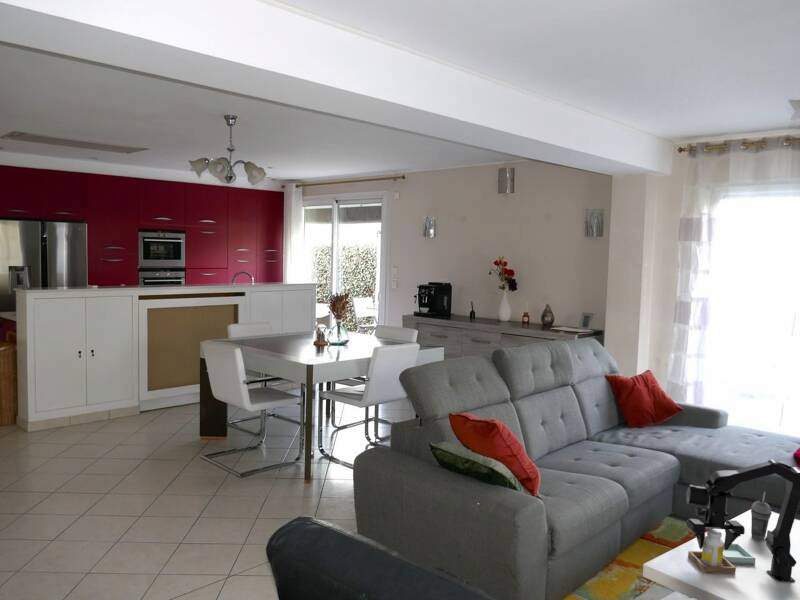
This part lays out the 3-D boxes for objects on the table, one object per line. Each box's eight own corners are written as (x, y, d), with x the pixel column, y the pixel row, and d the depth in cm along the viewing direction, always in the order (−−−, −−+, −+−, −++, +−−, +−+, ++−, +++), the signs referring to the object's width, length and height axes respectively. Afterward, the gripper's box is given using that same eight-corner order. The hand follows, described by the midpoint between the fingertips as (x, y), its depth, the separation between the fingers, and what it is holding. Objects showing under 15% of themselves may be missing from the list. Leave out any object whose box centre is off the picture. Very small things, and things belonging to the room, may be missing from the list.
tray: (754, 564, 234) (755, 558, 234) (724, 563, 234) (725, 556, 233) (737, 549, 245) (738, 543, 245) (708, 548, 245) (709, 542, 245)
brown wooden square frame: (735, 574, 226) (735, 568, 225) (703, 573, 225) (704, 566, 225) (718, 558, 237) (718, 552, 237) (687, 557, 237) (688, 551, 236)
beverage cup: (763, 535, 259) (768, 488, 258) (771, 543, 252) (777, 495, 250) (744, 533, 260) (749, 486, 258) (752, 541, 253) (758, 493, 251)
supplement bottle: (719, 563, 233) (722, 529, 232) (723, 572, 227) (726, 537, 226) (699, 559, 235) (702, 526, 234) (702, 568, 229) (706, 534, 228)
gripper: (730, 499, 237) (726, 539, 239) (681, 497, 237) (677, 537, 238) (747, 512, 226) (743, 554, 228) (696, 510, 226) (691, 552, 227)
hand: (713, 549), depth 230 cm, fingers open, 9 cm apart
